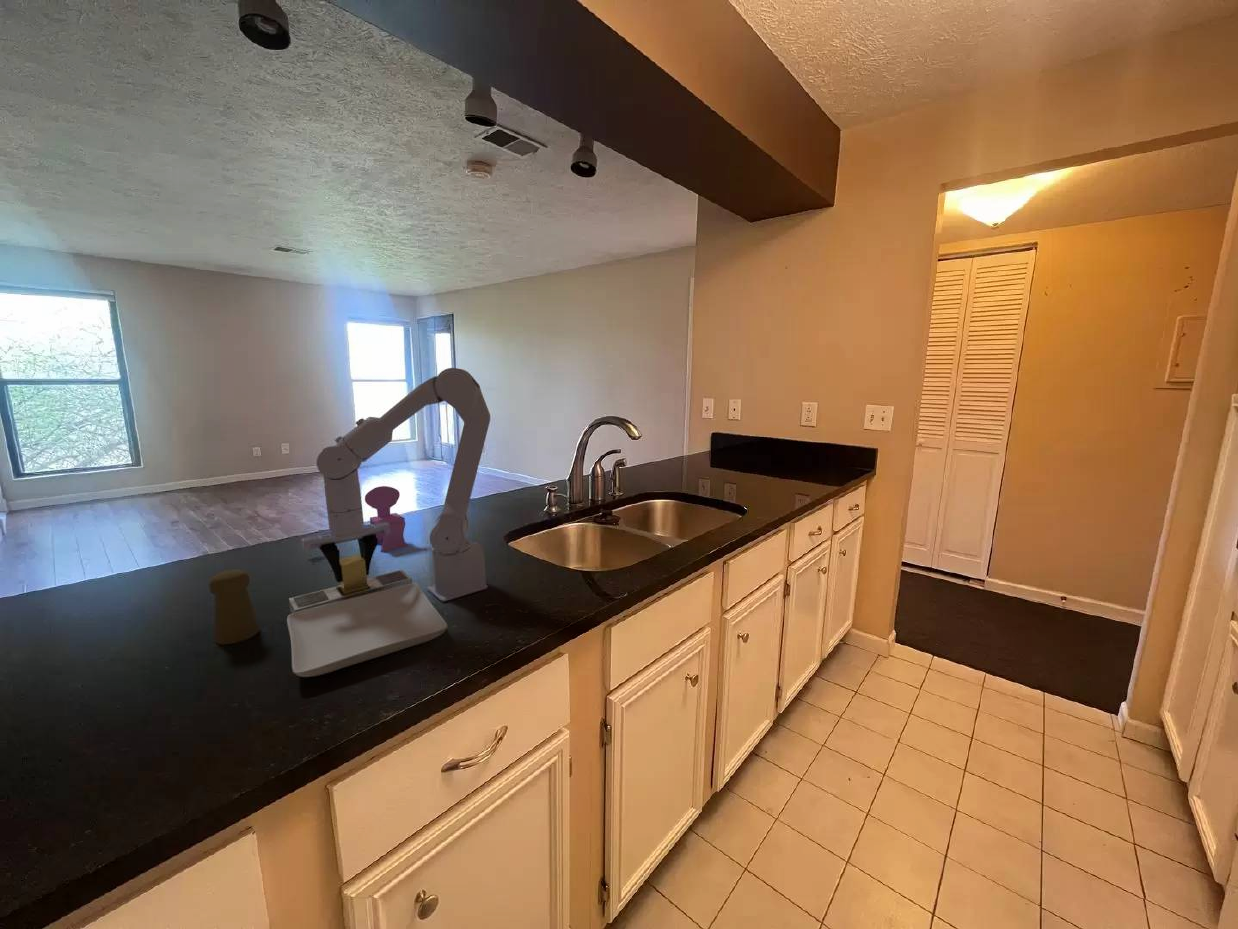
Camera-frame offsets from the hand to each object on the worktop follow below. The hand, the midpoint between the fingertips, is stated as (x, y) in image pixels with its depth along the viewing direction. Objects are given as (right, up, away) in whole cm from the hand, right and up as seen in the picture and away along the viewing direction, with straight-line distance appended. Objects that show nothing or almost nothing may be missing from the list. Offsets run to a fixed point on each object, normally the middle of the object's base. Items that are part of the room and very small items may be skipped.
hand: (352, 577), depth 93 cm
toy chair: (-8, +1, +31) cm, 32 cm away
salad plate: (+9, -8, -12) cm, 17 cm away
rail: (0, -5, +1) cm, 5 cm away
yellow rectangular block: (0, -3, +1) cm, 3 cm away
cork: (-13, -7, -12) cm, 19 cm away
